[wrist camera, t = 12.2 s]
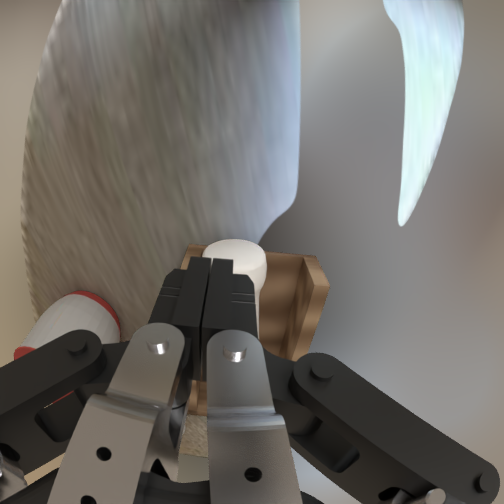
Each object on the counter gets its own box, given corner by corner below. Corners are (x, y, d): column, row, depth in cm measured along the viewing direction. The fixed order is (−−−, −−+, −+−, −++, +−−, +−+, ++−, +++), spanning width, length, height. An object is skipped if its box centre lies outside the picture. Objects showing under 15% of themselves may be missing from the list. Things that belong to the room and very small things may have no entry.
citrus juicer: (98, 357, 50) (68, 435, 32) (45, 295, 42) (-8, 369, 25) (153, 341, 47) (126, 436, 29) (93, 266, 40) (30, 355, 22)
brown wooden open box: (189, 244, 39) (178, 273, 32) (315, 255, 40) (330, 286, 33) (191, 383, 53) (187, 414, 46) (276, 388, 55) (280, 419, 48)
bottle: (225, 276, 29) (228, 419, 43) (282, 255, 34) (264, 397, 47) (188, 247, 34) (203, 390, 48) (240, 232, 39) (237, 371, 53)
